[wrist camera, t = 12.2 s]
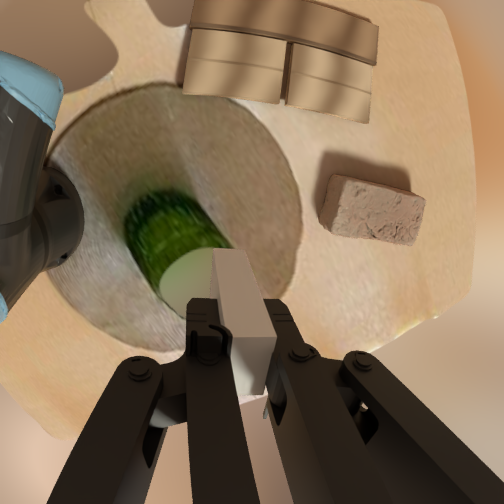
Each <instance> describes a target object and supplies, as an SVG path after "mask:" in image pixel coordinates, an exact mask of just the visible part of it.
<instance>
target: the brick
mask: <svg viewBox="0 0 504 504" xmlns="http://www.w3.org/2000/svg"><path fill="white" fill-rule="evenodd" d="M326 193H327V195H326V198H325V201H324V204H323V208H322V209H321V212H320V218H319V222H320V224H321V225H323V227H324V229H326V230H328V231H330V232H331V234H333V235H340V236H344V237H349V238H363V239H373V240H374V239H376V240H381V241H387V242H389V243H394V244H399V245H407V246H413V244H414V243H415V240H416V237H417V236H418V232H419V229H420V225H421V223H422V217H423V212H424V207H425V204H426V200H425V199H424V198H422V197H420V196H418V195H416V194H414V193H412V192H409V191H405V190H402V189H401V190H400V189H397V188H395V187H390V186H386V185H382V184H377V183H373V182H368V181H364V180H360V179H355V178H352V177H349V176H342V175H336V174H333V175H332V176H331V178H330V180H329V183H328V185H327V192H326Z"/></svg>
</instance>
